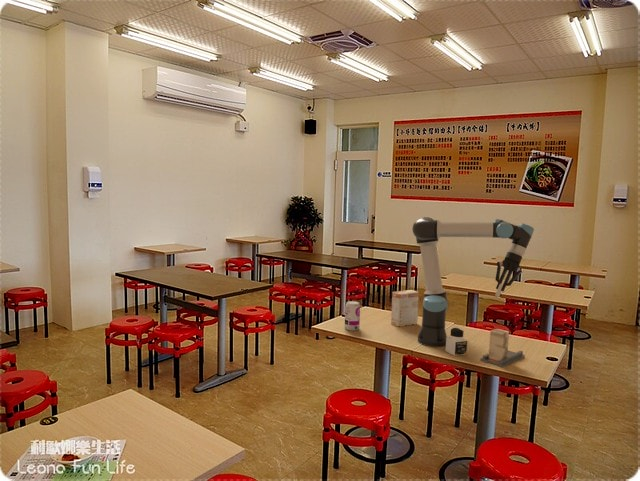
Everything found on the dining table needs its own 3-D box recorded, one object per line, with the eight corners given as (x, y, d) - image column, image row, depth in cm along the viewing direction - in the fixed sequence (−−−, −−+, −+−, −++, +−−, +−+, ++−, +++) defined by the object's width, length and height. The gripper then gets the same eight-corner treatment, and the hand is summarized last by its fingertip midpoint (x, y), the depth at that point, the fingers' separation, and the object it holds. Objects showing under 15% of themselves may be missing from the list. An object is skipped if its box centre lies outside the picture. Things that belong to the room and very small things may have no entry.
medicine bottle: (454, 356, 221) (456, 331, 220) (445, 351, 228) (446, 327, 227) (466, 354, 224) (468, 330, 223) (456, 350, 231) (458, 326, 230)
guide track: (502, 350, 232) (502, 346, 232) (524, 357, 224) (525, 351, 224) (480, 360, 217) (480, 355, 217) (503, 367, 209) (503, 361, 209)
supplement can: (361, 328, 263) (362, 302, 261) (354, 331, 256) (355, 305, 255) (349, 326, 267) (350, 300, 266) (341, 329, 260) (343, 302, 259)
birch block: (494, 355, 221) (496, 328, 220) (507, 358, 216) (509, 331, 215) (488, 358, 217) (490, 330, 215) (501, 361, 212) (503, 333, 211)
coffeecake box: (409, 321, 283) (411, 289, 281) (417, 324, 276) (419, 291, 275) (390, 323, 275) (391, 291, 273) (398, 327, 269) (399, 293, 267)
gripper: (529, 259, 236) (511, 302, 237) (504, 250, 244) (486, 291, 245) (526, 257, 230) (507, 301, 231) (501, 248, 237) (482, 290, 239)
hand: (496, 296), depth 238 cm, fingers closed
